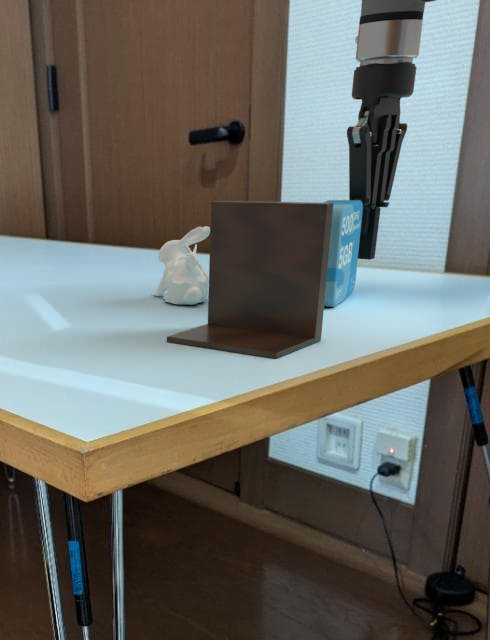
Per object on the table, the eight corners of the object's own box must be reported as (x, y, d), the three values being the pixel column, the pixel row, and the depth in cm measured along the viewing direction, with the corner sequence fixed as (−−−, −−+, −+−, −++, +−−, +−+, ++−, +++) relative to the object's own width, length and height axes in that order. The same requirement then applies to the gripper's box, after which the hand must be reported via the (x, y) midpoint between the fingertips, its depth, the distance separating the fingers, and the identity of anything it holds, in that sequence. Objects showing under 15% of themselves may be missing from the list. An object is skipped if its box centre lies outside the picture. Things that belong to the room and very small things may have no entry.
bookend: (321, 340, 88) (333, 202, 81) (276, 358, 81) (286, 210, 75) (214, 326, 96) (218, 200, 90) (166, 341, 90) (167, 207, 84)
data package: (332, 309, 102) (342, 208, 97) (297, 307, 104) (305, 208, 99) (354, 291, 111) (364, 198, 106) (322, 290, 114) (330, 199, 108)
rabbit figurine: (149, 294, 117) (149, 224, 113) (198, 290, 118) (200, 220, 114) (175, 309, 106) (176, 232, 102) (228, 304, 108) (231, 228, 103)
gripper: (380, 66, 108) (359, 250, 119) (333, 64, 99) (315, 262, 110) (435, 61, 103) (408, 253, 114) (392, 59, 95) (367, 267, 106)
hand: (363, 258), depth 112 cm, fingers closed
